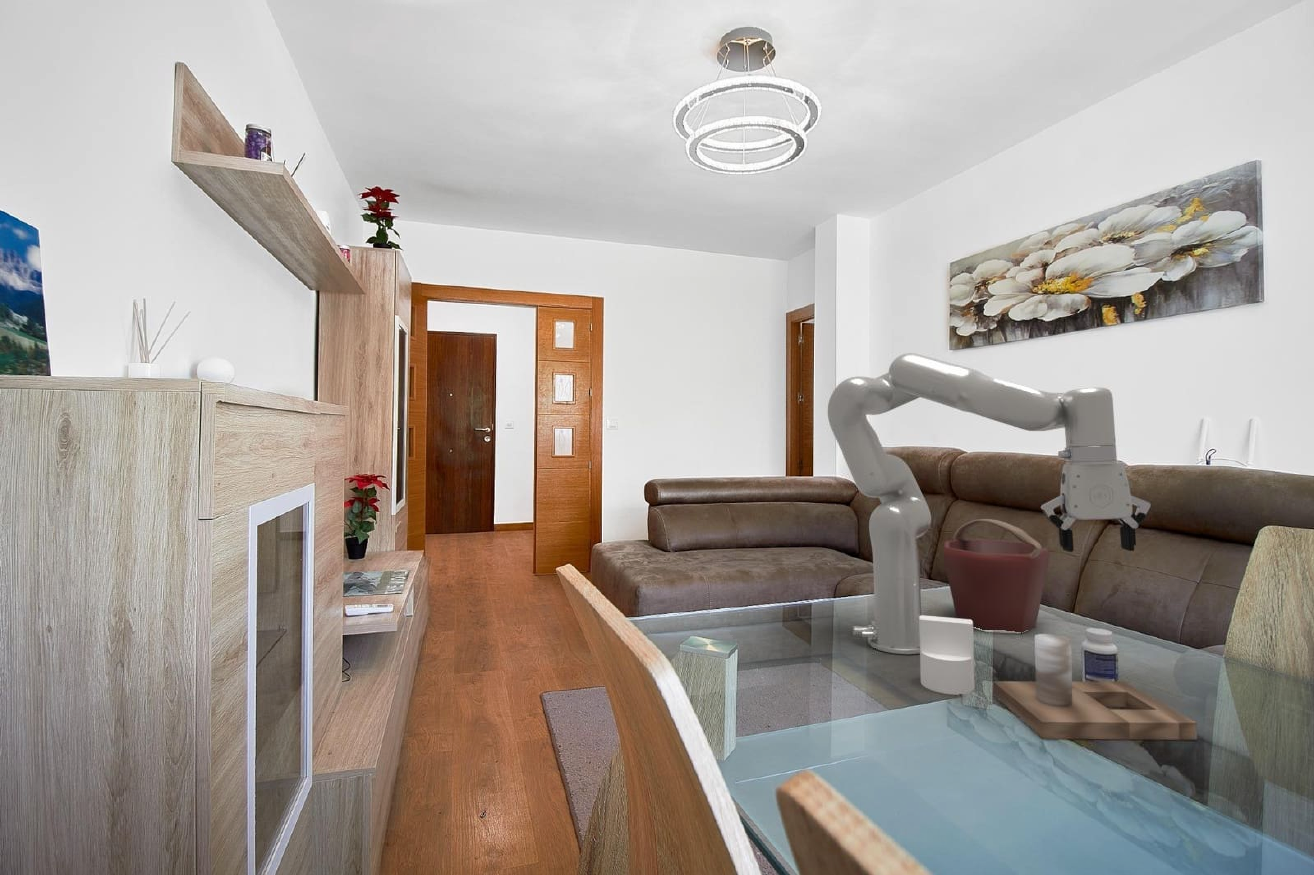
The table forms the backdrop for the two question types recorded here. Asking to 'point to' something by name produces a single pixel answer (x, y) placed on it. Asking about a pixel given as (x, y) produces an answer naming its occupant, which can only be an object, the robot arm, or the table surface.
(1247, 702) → the table surface
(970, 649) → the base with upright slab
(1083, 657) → the pill bottle
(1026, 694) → the pin board
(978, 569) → the bucket
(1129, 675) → the table surface
